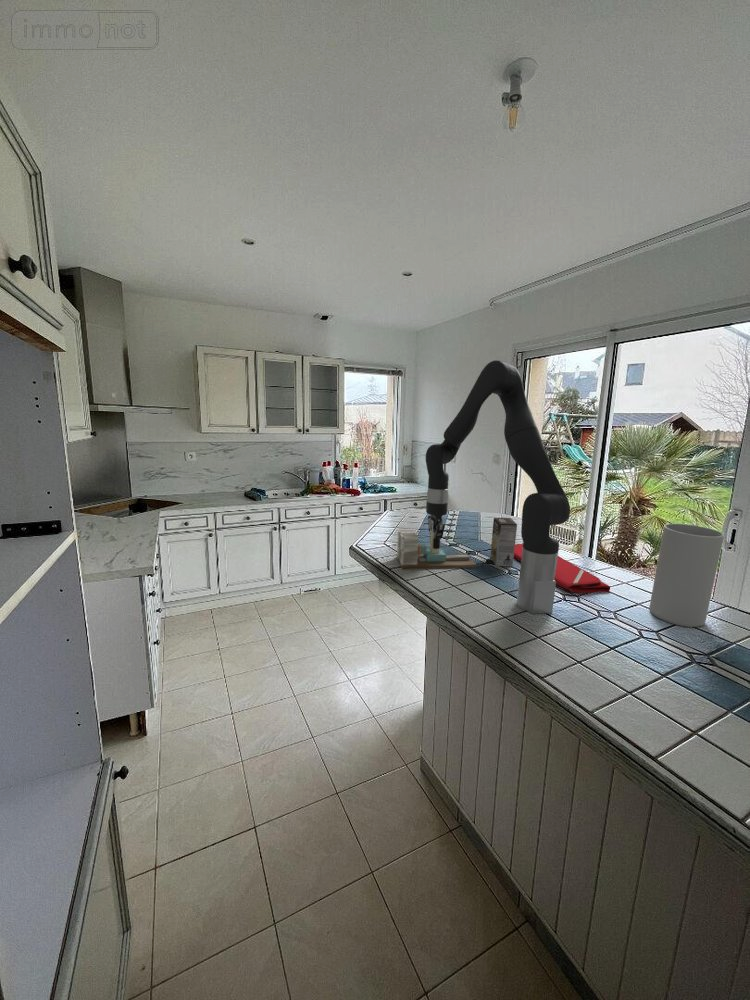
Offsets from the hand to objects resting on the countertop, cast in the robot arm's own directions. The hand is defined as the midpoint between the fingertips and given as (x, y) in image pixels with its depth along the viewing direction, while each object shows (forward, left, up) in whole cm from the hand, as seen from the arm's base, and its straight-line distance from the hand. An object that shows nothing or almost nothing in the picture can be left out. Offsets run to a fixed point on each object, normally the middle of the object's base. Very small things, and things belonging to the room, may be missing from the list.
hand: (434, 546), depth 146 cm
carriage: (0, +1, -5) cm, 5 cm away
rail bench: (0, -1, -6) cm, 6 cm away
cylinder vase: (-45, -57, -6) cm, 73 cm away
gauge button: (0, +8, -3) cm, 9 cm away
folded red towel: (-8, -41, -7) cm, 42 cm away
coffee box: (-1, -26, -6) cm, 27 cm away
